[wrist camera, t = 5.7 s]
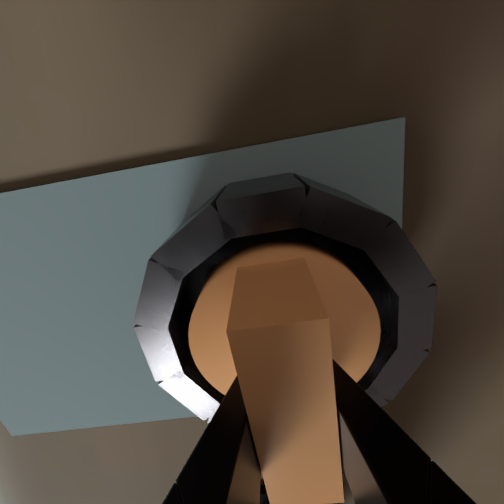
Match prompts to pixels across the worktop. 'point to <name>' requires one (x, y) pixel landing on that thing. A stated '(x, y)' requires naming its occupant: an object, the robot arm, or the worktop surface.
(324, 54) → the worktop surface
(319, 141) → the mat
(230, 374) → the rotary knob
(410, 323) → the black ring
